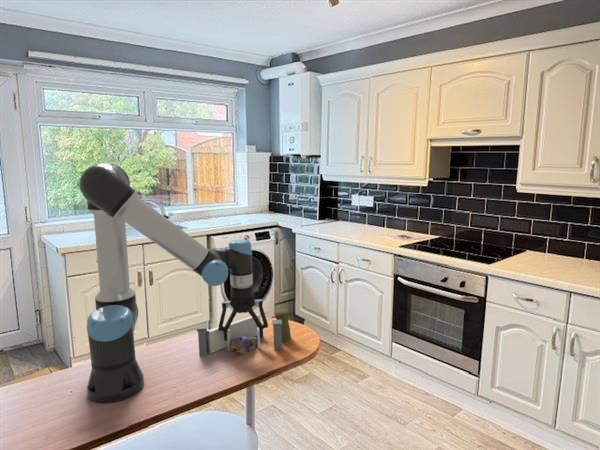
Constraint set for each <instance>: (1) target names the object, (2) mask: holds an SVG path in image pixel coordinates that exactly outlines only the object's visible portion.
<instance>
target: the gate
mask: <svg viewBox="0 0 600 450" xmlns="http://www.w3.org/2000/svg"><path fill="white" fill-rule="evenodd" d="M256 315H257V317H258V319H259V320H260V321H261V314H260V313H258V314H256ZM225 325H226V324H225ZM225 325H224V324H223V326H225ZM257 328H259V327H258V326H257V324H256V323H255V321H254V320H253V318H252V316H251V315H250V316H248V317H245V318H242V319H239V320H236V321H234V322H233V321H232V323H231V325H230V327H229V329H230V341H231V340H232V339H233V338H234V337H236V336H245V337H248V338H251V337H257ZM229 329H228V330H229ZM206 337H207V355H209V354H211V353H214V352H217V351H219V350H222V349H224V348H228V341H225V340H224V332H223V331H219V330H218V327H216V328H211V329H209V330H207V331H206Z"/></svg>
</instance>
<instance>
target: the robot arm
mask: <svg viewBox="0 0 600 450" xmlns="http://www.w3.org/2000/svg"><path fill="white" fill-rule="evenodd" d="M80 176H81V177H80V178H79V189H80V190H79V191H80V193H81V194H82V196H83V198H84V199H86V204H87V211H89V212H90V213H91V214H92V215H93V221H94V232H95V233H94V234H95V245H96V246H95V248H96V256H97V257H96V258H97V267H98V268H97V271H98V283H99V292H98V293H97V294H96V295H95V297H94V301H95V310H93V311H92V312H91V313H90V314H89V316H88V317H87V319H86V323H87V325H86V331H87V335H88V336H87V337H88V346H89V347H88V348H89V353H90V355H89V357H90V361H91V362H90V363H91V364H90V365H91V370H90V374H89V379H88V383H87V386H86V390H87V398H88V399H89V400H90V401H92V402H95V403H101V404H102V403H103V404H107V403H115V402H119V401H123V400H126V399H128V398H130V397H132V396H134V395H136V394H137V393H138V392H139V391H141V389H142V388H143V386H144V385H145V379H144V377H145V376H144V374H143V372H142V369H141V367H140V366H139V363H138V361H137V359H136V348H135V337H134V335H135V329H136V324H137V320H138V317H139V307H138V304H137V300H136V299H137V298H136V291H135V289H134V290H133V289H132V288H131V285H130V284H131V283H130V274H129V273H130V271H129V270H130V269H129V257H128V242H127V227H126V224H127V225H129V226H131V227H132V228H133V229H135V230H136V231H137V232H139V233H141V235H144V236H145V238H147V239H149V240H150V241H151V242H153V243H154V244H156V245H157V246H159V247H160V248H161V249H163V250H164V251H166V252H167V253H168V254H170V255H171V256H173V257H174V258H175V259H176V260H178V261H179V262H181V263H182V264H184V265H186V267H188V268H190V269H191V270H192V271H193V272H194V273H196V274H197V275H199V276H200V277H202V279H203V281H204V282H205V283H206V284H207V285H209V286H212V287H218V286H221V285H222V284H224V283H226V281H227V279H228V277H229V280H230V282H229V283H230V300H229V301H225V300H223V301H222V302H221V308H222V310H221V315H220V320H219V324H218V327H217V328H218V330H219V331H223V332H224V340H225V341H228V346H227V351H229V352H230V350H229V345H230V329H229V327H230V325H231V323H233V320H234V319H235V317H236V316H237V313H238V314H242V313H248V314H249V315H250V317H251V316H252V318H253V320H254V321H255V323H256V324H257V326H258V327H259V328H257V336H256V337H257V338H258V343H257V349H258V350H259V349H261V339H264V329H266V328H269V323H268V320H267V316H266V314H265V311H264V307H263V305H264V304H263V299H262V298H259V299H255V298H254V286H253V283H254V275H253V251H252V243H251V241H249V240H247V239H235V240H230V241H229V242H228V246H227V247H217V248H215V247H214V248H207V247H205V246H204V245H203V244H201V243H200V242H199V241H198V240H196V239H195V238H194V237H192V236H190V235H189V234H188V233H186V232H185V231H184V230H183V229H182V228H180V227H179V226H178V225H176V224H175V223H173V222H172V221H171V220H170V219H168V218H167V217H166V216H164V215H162V213H160V212H159V211H158V210H156V209H155V208H154V207H152V206H151V205H149V203H147V202H146V201H144V199H143V200H142V199H141V198H140V197H139V196H138V192H137V190H136V189H134V188H133V187H132V186H131V181H130V180H131V179H130V178H129V175H128V174H127V172H126V171H125V170H124V169H123V168H122V167H121V166H119V165H117V164H114V163H107V162H105V163H99V164H94V165H92V166H90V167H88V168H86V169H85V170H84V171H83V173H82V174H81V175H80ZM229 275H230V276H229ZM254 305H256V307H258V310H259V312H260V313H259V315H260V318H261V319H260V320H259V319H258V317H257V314H256V312H255V311H254V309H253V307H254ZM230 306H231V308H233V309H232V310H231V311H232V312H231V313H230V316H229V317H228V319H227V321H226V323H225V326H224V321H225V316H226V312H227V309H228V308H229V307H230ZM261 320H262V322H263V323H262V322H261ZM228 329H229V330H228Z"/></svg>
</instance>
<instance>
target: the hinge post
mask: <svg viewBox="0 0 600 450" xmlns="http://www.w3.org/2000/svg"><path fill="white" fill-rule="evenodd" d="M208 326H209V325H208V324H207V323H206V324H203V323H202V324H197V326H196V332H197V335H198V336H197V337H198V339H197V340H198V353H199V357H204V356H205V357H206V356H208V353H207V337H206V331H208Z"/></svg>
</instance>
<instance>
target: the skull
mask: <svg viewBox="0 0 600 450" xmlns="http://www.w3.org/2000/svg"><path fill="white" fill-rule="evenodd" d="M256 347H258V337H257V336H254V337H251V338H248V337H245V336H236V337H234V338H233V339H232V340H231V341H230V345H229V350H230V351H231V352H233V353H241V354H242V355H243V354H245V353H246V354H247V353H249V352H250V351H251V350H254V349H256ZM230 351H229V352H230Z"/></svg>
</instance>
